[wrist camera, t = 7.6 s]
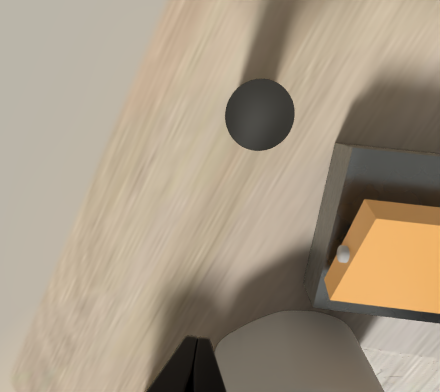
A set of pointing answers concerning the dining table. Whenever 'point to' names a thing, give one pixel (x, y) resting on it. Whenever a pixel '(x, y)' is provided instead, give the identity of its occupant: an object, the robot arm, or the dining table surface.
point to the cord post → (259, 114)
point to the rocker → (389, 258)
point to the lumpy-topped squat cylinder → (295, 356)
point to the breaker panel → (350, 204)
